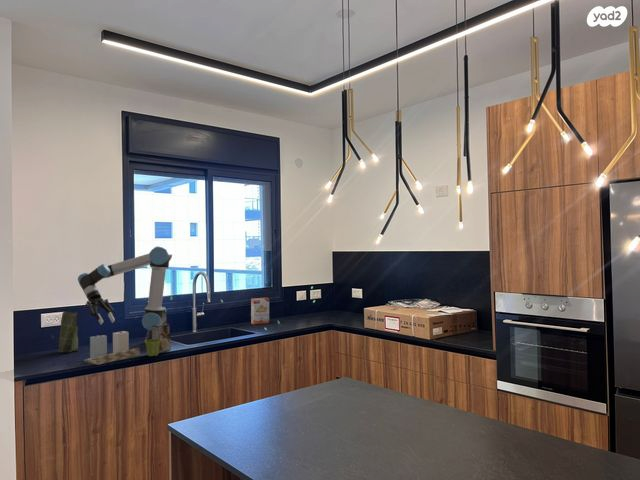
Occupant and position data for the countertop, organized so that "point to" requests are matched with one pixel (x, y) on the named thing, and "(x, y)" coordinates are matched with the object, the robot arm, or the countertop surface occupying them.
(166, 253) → the robot arm
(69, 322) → the pouch
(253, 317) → the cracker box
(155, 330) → the coffee box
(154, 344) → the plant pot
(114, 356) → the console
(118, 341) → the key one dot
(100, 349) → the grey upright block
